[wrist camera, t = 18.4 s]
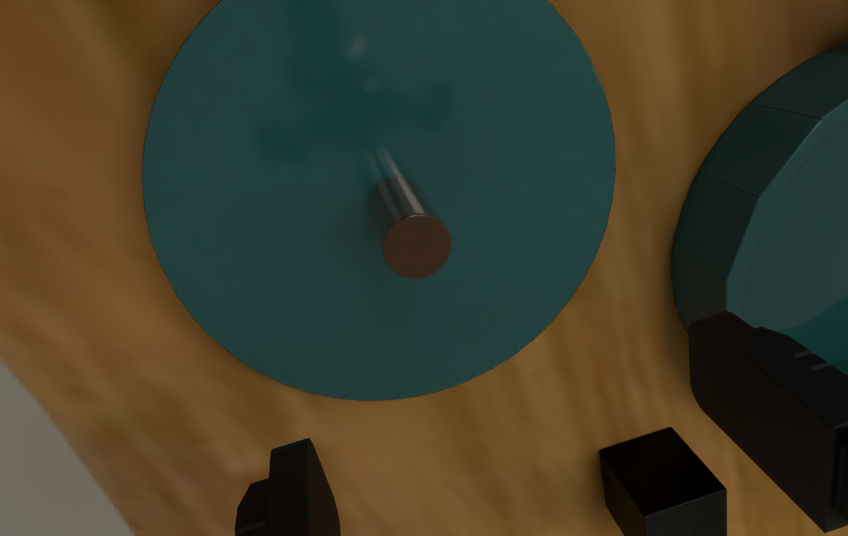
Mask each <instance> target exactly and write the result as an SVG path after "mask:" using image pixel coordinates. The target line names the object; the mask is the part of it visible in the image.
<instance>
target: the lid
mask: <svg viewBox="0 0 848 536" xmlns="http://www.w3.org/2000/svg"><path fill="white" fill-rule="evenodd" d="M614 181H615V140H614V134H613V127H612V120H611V114H610V110H609V107H608V103H607V100H606V96H605V93H604V89H603V86H602V84H601V81H600V79H599V77H598V74H597V72H596V70H595V68H594V65H593V63H592V61H591V58H590V57H589V55H588V53H587V52H586V50H585V49H584V47H583V45H582V44H581V42H580V40H579V39H578V37H577V36H576V34H575V32H574V31H573V30H572V29H571V27H570V26H569V25H568V24H567V23H566V21H565V20H564V19H563V18H562V16H561V15H560V14H559V13H558V12H557V10H556V9H555V8H554V7H553V6H552V5H551V4H550V3H549V2H547V1H546V0H222V1H221V2H219V3H218V4H217V5H216V6H215V7H214V8H213V9H212V10H211V11H210V12H209V13H208V14H207V15H206V16H205V17H204V18H203V19H202V20H201V22H200V23H199V24H198V25H197V27H196V28H195V29H194V31H193V32H192V33H191V34H190V36H189V37H188V38H187V40H186V41H185V42H184V43H183V45H182V46H181V48H180V50H179V51H178V53H177V55H176V57H175V58H174V60H173V62H172V64H171V65H170V67H169V69H168V71H167V73H166V74H165V76H164V79H163V81H162V84H161V86H160V89H159V92H158V94H157V97H156V99H155V102H154V105H153V107H152V110H151V115H150V119H149V124H148V128H147V133H146V137H145V142H144V154H143V168H142V183H143V197H144V209H145V213H146V218H147V222H148V227H149V232H150V236H151V240H152V243H153V245H154V248H155V251H156V253H157V256H158V259H159V261H160V264H161V267H162V269H163V271H164V273H165V275H166V276H167V278H168V280H169V282H170V284H171V286H172V288H173V289H174V291H175V293H176V295H177V296H178V298H179V299H180V300H181V302H182V303H183V305H184V306H185V307H186V309H187V310H188V311H189V313H190V314H191V315H192V317H193V318H194V319H195V320H196V322H197V323H198V324H199V325H200V326H201V327H202V328H203V329H204V330H205V331H206V332H207V333H208V334H209V335H210V336H211V337H212V338H213V339H214V340H215V341H216V342H217V343H218V344H220V345H221V346H222V347H223V348H225V349H226V350H227V351H228V352H230V353H231V354H232V355H233V356H235V357H236V358H237V359H239V360H240V361H242V362H244V363H245V364H247V365H249V366H250V367H252V368H253V369H255V370H257V371H258V372H260V373H262V374H264V375H266V376H268V377H270V378H273V379H275V380H277V381H279V382H281V383H283V384H286V385H289V386H292V387H295V388H298V389H301V390H304V391H307V392H310V393H314V394H319V395H324V396H329V397H334V398H341V399H353V400H364V401H365V400H394V399H401V398H409V397H416V396H421V395H425V394H429V393H433V392H437V391H441V390H444V389H447V388H450V387H453V386H455V385H458V384H461V383H464V382H466V381H469V380H471V379H473V378H475V377H477V376H479V375H481V374H483V373H485V372H487V371H489V370H491V369H493V368H494V367H496V366H498V365H499V364H501V363H502V362H504V361H506V360H507V359H509V358H510V357H512V356H514V355H515V354H516V353H517V352H519V351H520V350H521V349H522V348H524V347H525V346H526V345H527V344H529V343H530V342H531V341H533V340H534V339H535V338H536V337H537V336H538V335H539V334H540V333H541V332H542V331H543V330H544V329H545V328H546V327H547V326H548V325H549V324H550V323H551V322H552V321H553V320H554V319H555V318H556V317H557V315H558V314H559V313H560V312H561V310H562V309H563V308H564V307H565V306H566V304H567V303H568V302H569V301H570V299H571V298H572V296H573V295H574V293H575V292H576V290H577V289H578V287H579V285H580V284H581V282H582V281H583V279H584V278H585V276H586V274H587V272H588V270H589V268H590V266H591V264H592V262H593V260H594V258H595V256H596V254H597V251H598V248H599V246H600V243H601V240H602V237H603V235H604V232H605V229H606V226H607V222H608V217H609V213H610V209H611V204H612V200H613V191H614Z"/></svg>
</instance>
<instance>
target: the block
mask: <svg viewBox="0 0 848 536" xmlns="http://www.w3.org/2000/svg"><path fill="white" fill-rule="evenodd" d="M599 454H600V462H601V470H602V478H603V486H604V494H605V502H606V507H607V509H608V510H609V512H610V513H611V515H612V517H613V518H614V520H615V522H616V523H617V525H618V526H619V528H620V530H621V531H622V533H623V534H624V536H727V489H726V488H725V487H724V486H723V485H722V483H721V482H720V481H719V480H718V479H717V478H716V477H715V476H714V474H713V473H712V472H711V471H710V470H709V469H708V468H707V467H706V465H705V464H704V463H703V462H702V461H701V460H700V459H699V458H698V456H697V455H696V454H695V453H694V452H693V451H692V450H691V449H690V447H689V446H688V445H687V444H686V443H685V442H684V441H683V440H682V438H681V437H680V436H679V435H678V434H677V433H676V432H675V431H674V429H673V428H672V427H670V428H667V429H664V430H661V431H658V432H655V433H652V434H649V435H646V436H642V437H639V438H636V439H633V440H630V441H627V442H624V443H621V444H618V445H615V446H611V447H608V448H605V449H602V450H600V451H599Z"/></svg>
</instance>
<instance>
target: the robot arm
mask: <svg viewBox="0 0 848 536" xmlns="http://www.w3.org/2000/svg"><path fill="white" fill-rule="evenodd" d="M688 343H689V368H690V384H691V389H692V392H693V395H694V397H695V399H696V401H697V403H698V404H699V406H700V407H701V409H702V410H703V411H704V412H705V413H706V414H707V415H708V416H709V417H710V418H711V419H712V420H713V421H714V422H715V423H716V424H717V425H718V426H719V427H720V428H721V429H722V430H723V431H724V432H725V433H726V434H727V435H728V436H729V437H730V438H731V439H732V440H733V441H734V442H735V443H736V444H737V445H738V446H739V447H740V448H741V449H742V450H743V451H744V452H745V453H746V454H747V455H748V456H749V457H750V458H751V459H752V460H753V461H754V462H755V463H756V464H757V465H758V466H759V467H760V468H761V469H762V470H763V471H764V472H765V473H766V474H767V475H768V476H769V477H770V478H771V479H772V480H773V481H774V482H775V483H776V484H777V485H778V486H779V487H780V488H781V489H782V490H783V491H784V492H785V493H786V494H787V495H788V496H789V498H790V499H791V500H792V501H793V502H794V503H795V504H796V505H797V506H798V507H799V508H800V509H801V510H802V511H803V512H804V513H805V514H806V515H807V516H808V517H809V518H810V519H811V520H812V521H813V522H814V523H815V524H816V525H817V526H818V527H819V528H820V529H821V530H822V531H823V532H824V533H826V532H829V531H832V530H835V529H838V528H841V527H844V526H847V525H848V375H846V374H845V373H843V372H842V371H840V370H839V369H837V368H836V367H834V366H830V365H829V363H828V362H827V361H825V360H824V359H822V358H821V357H819V356H818V355H817V354H812V353H811V350H809V349H808V348H806V347H805V346H803V345H802V344H800V343H799V342H797V341H796V340H794V339H793V338H791V337H790V336H787V335H784V334H782V333H779V332H776V331H773V330H770V329H767V328H764V327H758V328H753V327H752V326H751V325H749V324H748V323H746V322H745V321H744V320H742V319H741V318H739V317H738V316H737V315H735V314H734V313H732V312H729V311H725V312H721V313H718V314H715V315H712V316H708V317H705V318H702V319H699V320H695V321H692V322H691V323H690V325H689V328H688ZM235 536H341V533H340V522H339V516H338V511H337V507H336V503H335V500H334V496H333V494H332V491H331V488H330V486H329V483H328V481H327V478H326V476H325V473H324V471H323V468H322V466H321V463H320V460H319V458H318V455H317V453H316V450H315V448H314V445H313V443H312V441H311V440H310V439H309V438H307V439H304V440H300V441H297V442H294V443H291V444H287V445H284V446H281V447H278V448H274V449H272V451H271V456H270V472H269V478H268V479H264V480H261V481H258V482H255V483H252V484H250V486H249V488H248V490H247V491H246V493H245V495H244V497H243V499H242V500H241V502H240V504H239V506H238V508H237V516H236V524H235Z"/></svg>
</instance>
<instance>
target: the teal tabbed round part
mask: <svg viewBox="0 0 848 536" xmlns="http://www.w3.org/2000/svg"><path fill="white" fill-rule="evenodd" d="M671 278H672V287H673V295H674V300H675V304H676V307H677V312H678V315H679V317H680V319H681V322H682V324H683V326H684V328H685V330H686V332H687V334H688V328H689V325H690V323H691V322H692V321H695V320H699V319H702V318H705V317H708V316H712V315H715V314H718V313H721V312H725V311H729V312H732V313H734V314H735V315H737V316H738V317H739V318H741V319H742V320H744V321H745V322H746V323H748V324H749V325H751V326H752V327H753V328H758V327H764V328H767V329H770V330H773V331H776V332H779V333H782V334H784V335H787V336H790V337H791V338H793V339H794V340H796V341H797V342H799V343H800V344H802V345H803V346H805V347H806V348H808V349H809V350H811V353H812V354H817V355H818V356H819V357H821V358H822V359H824V360H825V361H827V362H828V363H829V365H830V366H834V367H836V368H837V369H839V370H840V371H842V372H843V373H845V374H846V375H848V44H846V45H843V46H840V47H837V48H834V49H831V50H828V51H826V52H824V53H822V54H820V55H818V56H816V57H814V58H812V59H810V60H808V61H806V62H804V63H802V64H801V65H799V66H798V67H796V68H795V69H793V70H792V71H790V72H788V73H787V74H785V75H784V76H782V77H781V78H779V79H778V80H777V81H776V82H774V83H773V84H772V85H771V86H770V87H768V88H767V89H766V90H765V91H763V92H762V93H761V94H760V95H758V96H757V97H756V98H755V99H754V100H753V101H752V102H751V103H750V104H749V105H748V106H747V107H746V108H745V109H744V110H743V111H742V112H741V113H740V114H739V115H738V116H737V118H736V119H735V120H734V121H733V122H732V124H731V125H730V126H729V127H728V128H727V130H726V131H725V132H724V133H723V135H722V136H721V137H720V138H719V140H718V141H717V143H716V144H715V146H714V147H713V149H712V150H711V152H710V153H709V155H708V156H707V158H706V159H705V161H704V163H703V165H702V166H701V168H700V170H699V172H698V174H697V176H696V178H695V180H694V181H693V183H692V185H691V188H690V190H689V193H688V195H687V198H686V200H685V203H684V205H683V208H682V211H681V214H680V218H679V222H678V225H677V229H676V232H675V239H674V245H673V252H672V272H671Z"/></svg>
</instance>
